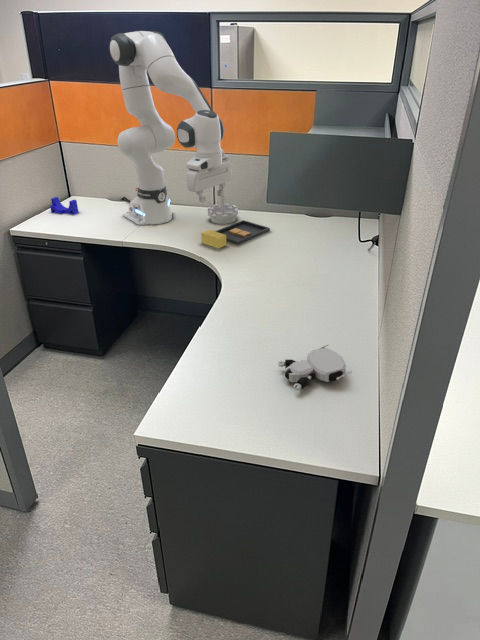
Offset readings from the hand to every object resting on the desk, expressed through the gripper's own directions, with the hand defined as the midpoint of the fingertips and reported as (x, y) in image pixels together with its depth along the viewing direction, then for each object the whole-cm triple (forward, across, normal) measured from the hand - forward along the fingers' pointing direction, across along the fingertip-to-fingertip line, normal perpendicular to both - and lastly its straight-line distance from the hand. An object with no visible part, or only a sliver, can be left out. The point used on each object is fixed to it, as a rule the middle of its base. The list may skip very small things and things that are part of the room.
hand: (211, 198), depth 184 cm
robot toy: (+20, +44, +76) cm, 90 cm away
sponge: (+18, 0, 0) cm, 19 cm away
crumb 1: (+18, -15, -2) cm, 23 cm away
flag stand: (+18, -23, -17) cm, 33 cm away
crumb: (+18, -15, +3) cm, 23 cm away
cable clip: (+17, +16, -80) cm, 83 cm away
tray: (+18, -15, 0) cm, 24 cm away
